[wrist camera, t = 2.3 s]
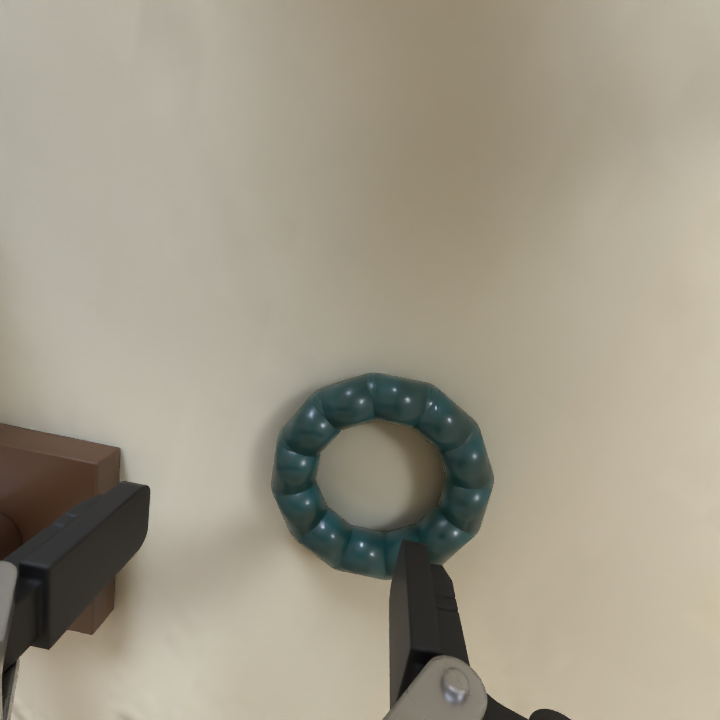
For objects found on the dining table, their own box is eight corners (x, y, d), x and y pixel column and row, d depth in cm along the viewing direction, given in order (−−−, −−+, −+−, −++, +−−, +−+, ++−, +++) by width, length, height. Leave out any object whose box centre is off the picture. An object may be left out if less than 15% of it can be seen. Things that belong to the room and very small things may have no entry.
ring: (295, 351, 16) (284, 361, 14) (509, 393, 16) (524, 409, 14) (268, 534, 18) (255, 563, 16) (456, 573, 18) (463, 607, 16)
